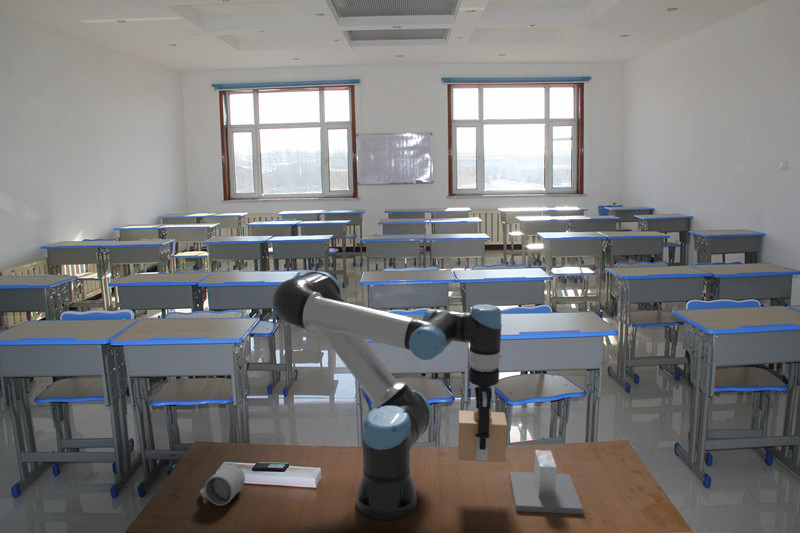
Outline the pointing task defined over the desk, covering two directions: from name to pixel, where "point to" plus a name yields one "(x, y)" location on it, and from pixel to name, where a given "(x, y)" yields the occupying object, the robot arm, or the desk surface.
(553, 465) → the grey square plate
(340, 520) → the desk surface
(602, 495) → the desk surface
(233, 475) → the ceramic mug
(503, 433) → the tan block with dome
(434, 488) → the desk surface
